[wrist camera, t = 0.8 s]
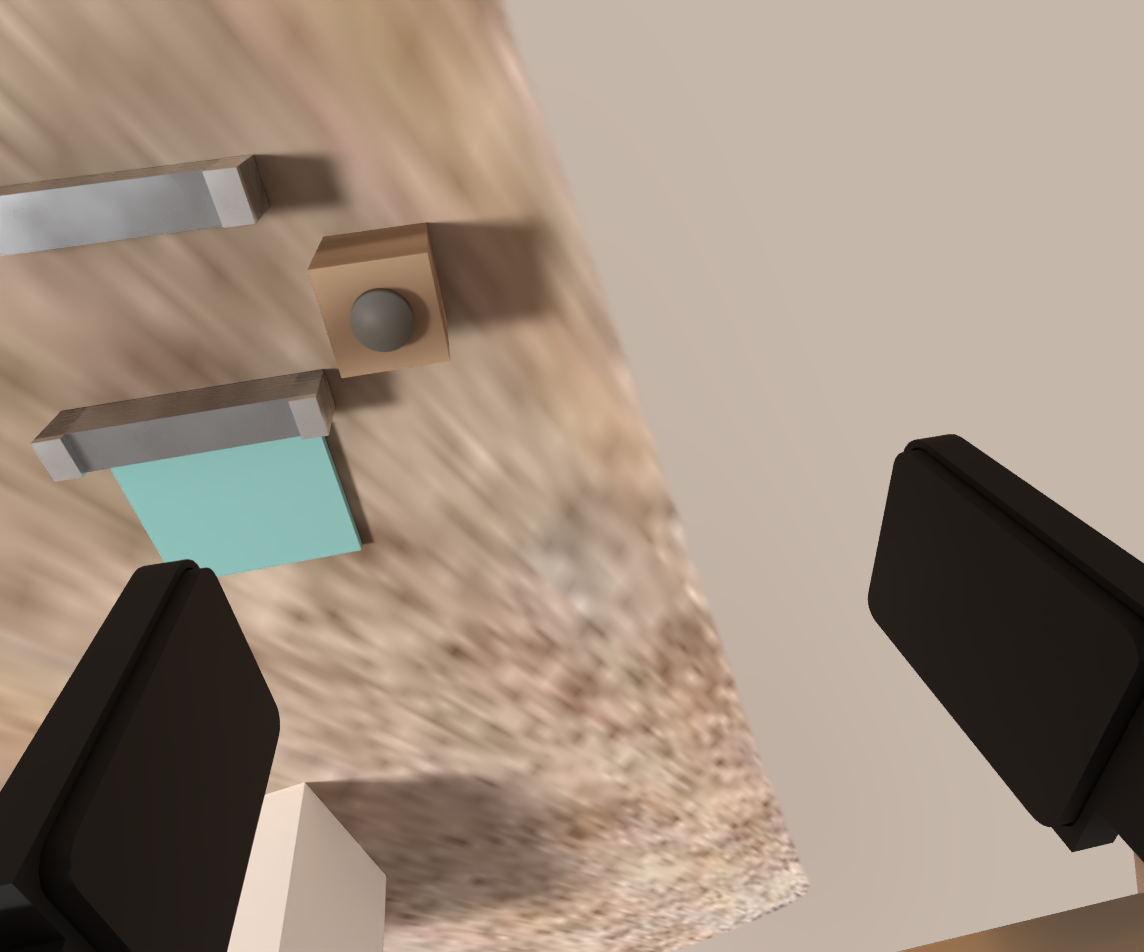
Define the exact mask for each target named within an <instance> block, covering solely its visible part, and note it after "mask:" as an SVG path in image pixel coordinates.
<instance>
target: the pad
mask: <svg viewBox="0 0 1144 952" xmlns="http://www.w3.org/2000/svg"><path fill="white" fill-rule="evenodd" d="M110 469H111V471H112V473H113V474H114V476H115V478H116V480H117V481H118V483H119V485H120V487H121V488H122V490H123V492H124V493H125V495H126V497H127V499H128V500H129V502H130V504H131V506H132V507H133V509H134V511H135V512H136V514H137V516H138V518H139V519H140V521H141V523H142V524H143V526H144V528H145V530H146V531H147V533H148V535H149V537H150V538H151V540H152V542H153V543H154V545H155V547H156V549H157V550H158V552H159V554H160V556H161V557H162V559H163V561H164V562H165V563H166V562H172V561H178V560H184V559H190V560H193V561H194V562H195V563H197V564H198V566H199V567H200V568H205V567H207V568H210V569H212V570H213V571H214V573H215V575H216V576H217V577H220V576H225V575H231V574H236V573H241V572H247V571H252V570H257V569H263V568H268V567H273V566H279V565H284V564H289V563H295V562H300V561H305V560H311V559H316V558H321V557H327V556H332V555H337V554H343V553H348V552H353V551H359V550H361V548H362V542H361V539H360V536H359V533H358V530H357V527H356V525H355V522H354V519H353V516H352V513H351V510H350V507H349V505H348V502H347V499H346V496H345V493H344V490H343V487H342V485H341V482H340V479H339V476H338V473H337V470H336V467H335V465H334V462H333V459H332V456H331V453H330V450H329V447H328V445H327V442H326V439H325V436H323V437H317V438H311V439H305V440H302V438H301V436H298V437H293V438H287V439H281V440H275V441H269V442H263V443H257V444H251V445H245V446H239V447H233V448H227V449H222V450H216V451H210V452H204V453H198V454H192V455H186V456H180V457H174V458H168V459H162V460H156V461H150V462H145V463H139V464H133V465H127V466H121V467H115V468H110Z"/></svg>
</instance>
